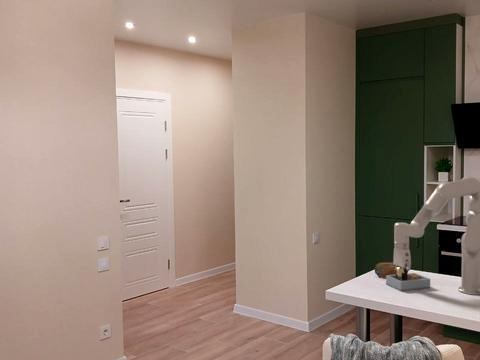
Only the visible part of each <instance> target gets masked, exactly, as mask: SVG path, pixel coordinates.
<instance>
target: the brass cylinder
mask: <svg viewBox="0 0 480 360" xmlns="http://www.w3.org/2000/svg"><path fill="white" fill-rule="evenodd" d="M405 269H406V268H404V270H405ZM402 273H403V272H402V267H397V280H400V281H406V280H402Z"/></svg>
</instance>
